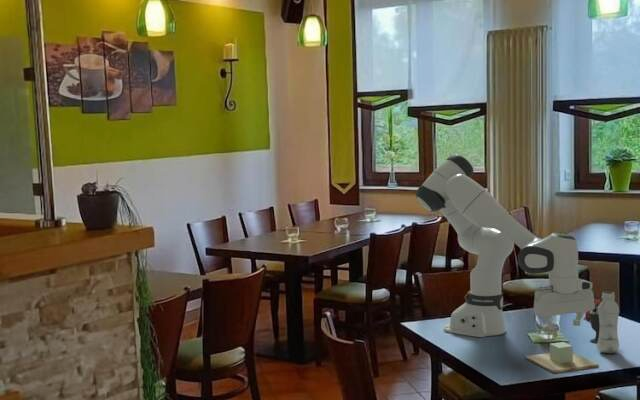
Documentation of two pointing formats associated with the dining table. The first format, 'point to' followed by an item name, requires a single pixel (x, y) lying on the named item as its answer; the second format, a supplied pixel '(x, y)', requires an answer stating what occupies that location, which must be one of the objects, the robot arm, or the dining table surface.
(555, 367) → the tan square board
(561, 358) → the sage block
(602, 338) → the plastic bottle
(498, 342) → the dining table surface
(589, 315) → the flower
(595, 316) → the sundae
